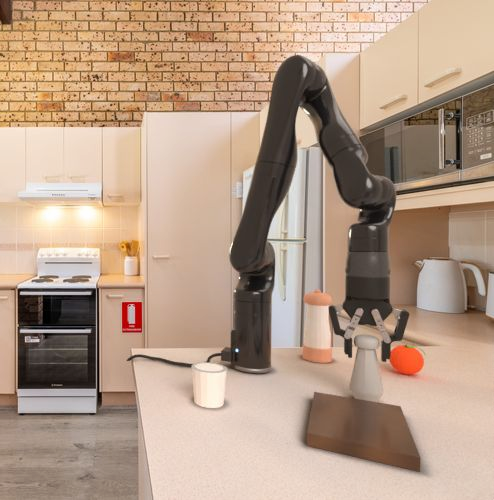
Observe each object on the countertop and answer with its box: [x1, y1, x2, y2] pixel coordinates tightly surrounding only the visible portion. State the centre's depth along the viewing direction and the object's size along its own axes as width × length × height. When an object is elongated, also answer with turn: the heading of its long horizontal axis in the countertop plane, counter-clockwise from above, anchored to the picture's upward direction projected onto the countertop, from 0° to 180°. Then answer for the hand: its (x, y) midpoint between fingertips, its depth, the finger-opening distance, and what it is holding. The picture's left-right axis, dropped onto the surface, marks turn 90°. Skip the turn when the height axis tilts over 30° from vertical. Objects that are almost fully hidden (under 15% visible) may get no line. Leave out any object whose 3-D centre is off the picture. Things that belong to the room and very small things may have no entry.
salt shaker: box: [348, 334, 384, 402], centre depth 78 cm, size 6×6×13 cm
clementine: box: [388, 344, 427, 376], centre depth 95 cm, size 8×7×7 cm
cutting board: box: [306, 391, 421, 472], centre depth 65 cm, size 14×20×2 cm
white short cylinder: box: [191, 361, 228, 409], centre depth 77 cm, size 7×7×7 cm
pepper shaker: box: [301, 289, 333, 364], centre depth 108 cm, size 7×7×19 cm
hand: (366, 358), depth 78 cm, fingers open, 5 cm apart
